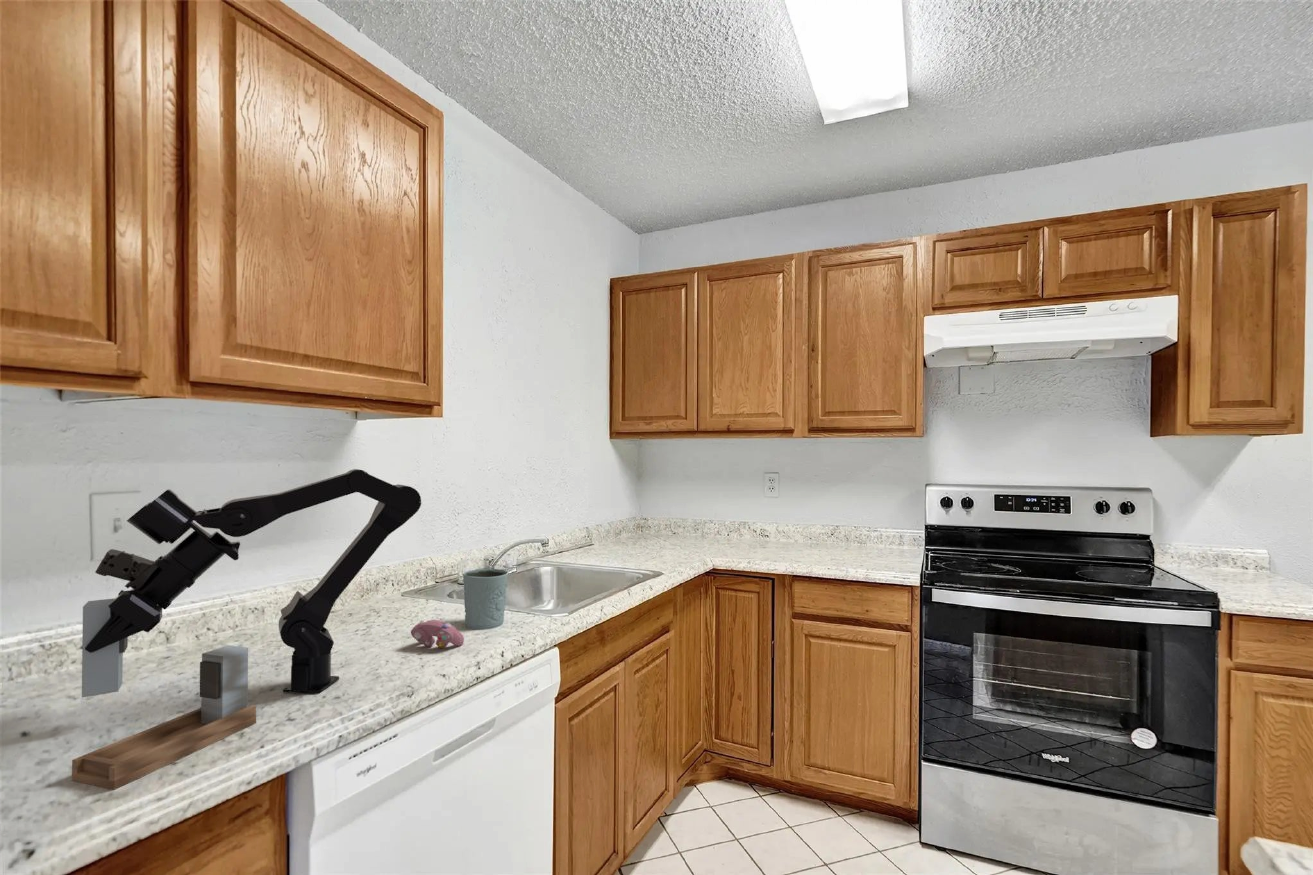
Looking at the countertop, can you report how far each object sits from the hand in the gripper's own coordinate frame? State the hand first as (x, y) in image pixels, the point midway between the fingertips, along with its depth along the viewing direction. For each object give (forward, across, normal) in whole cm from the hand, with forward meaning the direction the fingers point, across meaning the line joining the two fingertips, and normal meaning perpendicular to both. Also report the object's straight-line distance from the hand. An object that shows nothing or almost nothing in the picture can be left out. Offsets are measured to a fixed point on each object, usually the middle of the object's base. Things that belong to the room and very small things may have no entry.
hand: (90, 646), depth 92 cm
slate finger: (+4, 0, +6) cm, 7 cm away
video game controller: (-28, -10, +46) cm, 55 cm away
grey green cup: (-38, -21, +55) cm, 70 cm away
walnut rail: (+1, +15, +16) cm, 22 cm away
